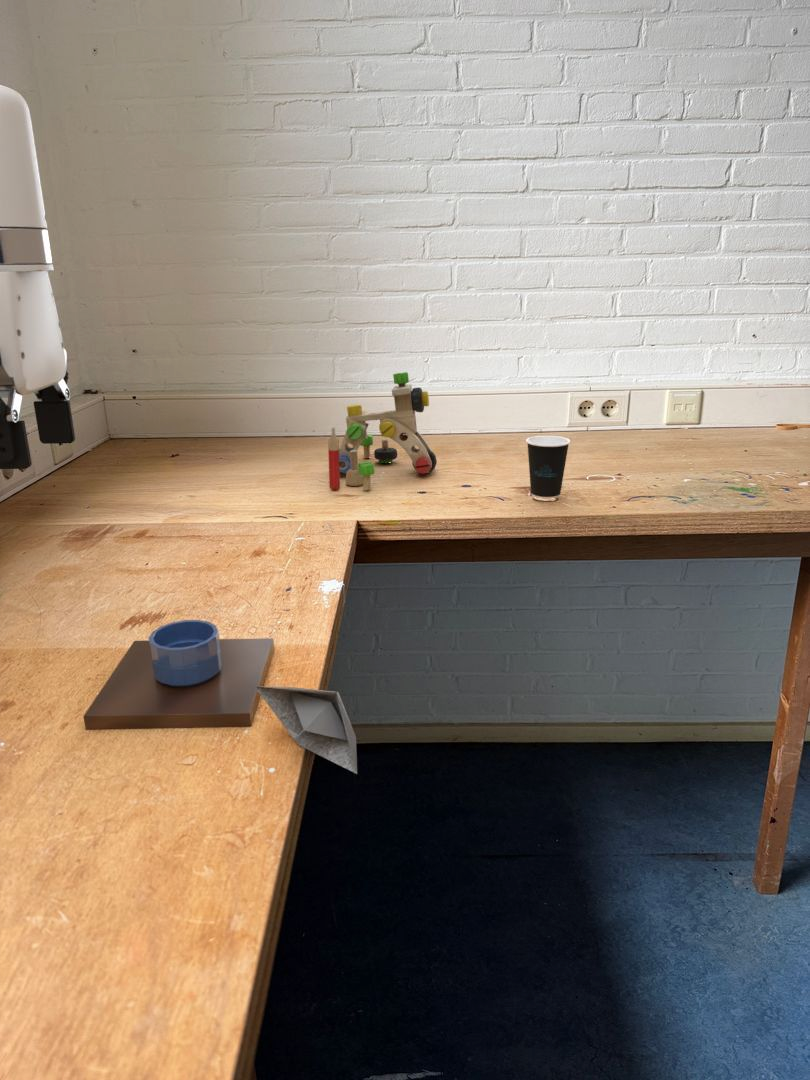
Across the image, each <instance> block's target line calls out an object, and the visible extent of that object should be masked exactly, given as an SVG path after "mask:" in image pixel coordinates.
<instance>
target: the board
mask: <svg viewBox="0 0 810 1080" xmlns="http://www.w3.org/2000/svg"><path fill="white" fill-rule="evenodd" d="M274 641H275V639H274V638H272V637H270V638H269V637H268V638H267V637H266V638H223V639H222V638H219V642H220V652H221V662H222V666H221V668H220V671H219V672H218V673H217V674H215V675H214V676H213V677H211V678H210V679H209V680H207V681H205V682H203V683H200V684H197V685H193V686H186V687H175V686H170V685H167V684H163V683H161V682H159V681H158V680H156V679H155V677H154V674H153V667H152V660H151V652H150V645H149V640H134V641H133V642H132V643H131V645H130V646H129V648H128V649H127V651H126V652H125V654H124V656H122V658H121V660H120V661H119V662H118V664H117V666H116V667H115V669H114V670H113V671H112V672H111V675H110V676H109V677H108V679H107V680H106V681H105V684H104V685H103V687H102V688H101V689H100V691H99V692H98V693H97V695H96V696H95V698H94V700H93V701H92V703H91V704H90V706H89V707H88V709H87V710H86V712H85V713H84V715H83V723H84V728H85V730H121V729H122V730H124V729H125V730H126V729H130V730H131V729H175V728H176V729H178V728H180V729H181V728H229V727H230V728H231V727H234V728H235V727H236V728H237V727H252V724H253V721H254V718H255V714H256V712H257V707H258V705H259V701H260V698H261V695H260V693H259V692H258V691H257V689H256V688H255V687H254V686H262V687H264V685H265V681H266V678H267V675H268V672H269V669H270V665H271V662H272V658H273V655H274V652H275V642H274Z"/></svg>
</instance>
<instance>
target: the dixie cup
mask: <svg viewBox="0 0 810 1080" xmlns="http://www.w3.org/2000/svg"><path fill="white" fill-rule="evenodd" d="M525 442H526V443H527V457H528V472H529V485H530V494H531V496H534V497H536V498H542V499H550V498H556V497H558V496H559V497H560V495H561V492H562V486H563V480H564V473H565V470H566V462H567V456H568V451H569V445H570V444H571V440H570V439H569V438H567V437H563V436H558V435H535V436H530V437H528V438H526V441H525Z"/></svg>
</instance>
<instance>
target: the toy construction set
mask: <svg viewBox="0 0 810 1080" xmlns="http://www.w3.org/2000/svg"><path fill="white" fill-rule="evenodd" d="M392 377H393V384H394V387H392V389H391V396H392V397H393V401H394V409H395V410H386V411H385V410H384V411H377V412H368V413H363V407H362V404H352V405H348V406H347V407H346V410H347V416H346V417H345V422H346V430H345V433H344V436H343V439H342V441H341V444H340V439H339V438H338V436H337V434H336V426H332V427H331V436H330V437H329V438H328V440H327V443H328V448H327V449H328V450H327V451H328V479H329V480H328V481H329V482H328V483H329V489H330V490H333V491H334V490H339V489H340V488H341V478H340V477H341V476H340V475H341V474H340V473H343V474H345V484H346V485H347V486H350V487H357V486H358V487H359V486H362V490H364V491H370V490H371V489H372V487H371V482H372V481H371V476H373V475H374V474H375V464H374V462H372V461H362V462H358V461H359V458H358V457H359V456H358V453H359V452H358V450H359V448H360V446H361V447H362V448H363V449H362V450H363V458H364V459H365V458H369V457H370V458H371V446H372V445H374V436H373V435H372V434H368V432H367V429H368V427H369V425H370V423H368V422H369V421H379V426H378V427H379V428H378V429H379V433H380V434H381V437H384V438H382V439H381V447H379V448H376V449H375V450H374V451H373V453H374V454H373V455H374V456H373V457H374V459H375V460H378V463H379V462H381V463H385V464H387V463H389V462H392V461H393V462H394V460H396V459H397V458H398V450H397V449H396V448H394V447H389V439H391V440H393V441H394V442H395V443H397V444H398V445H399V446H400V447H401V448H402V449H403V450H404V451H405V453H406V454H407V455H408V457H409V458H410V460H411V462H412V467H413V469H414V470H415V471H416V472H417V473H419V474H422V475H423V474H424V475H426V474H425V473H427V472H430V473H432V472H433V471H434V470H435V468H436V466H437V463H438V460H437V456H436V454H435V453H434V452H433V451H432V449H431V447H430V445H429V443H428V442H427V441H426V439H425V438H424V437H423V435H422V434H421V433H420V432H419V431H418V428H417V427H418V426H417V417H416V413H423V412H424V411H425V407H429V406H430V397H429V392H428V391H427V390H425V391H423V389H422V387H413V385H412V383H409V382H410V380H409V379H410V378H409V373H408V372H407V371H403V372H396V373H393V375H392ZM387 438H389V439H387ZM348 444H350V445H352V447H351V446H349V445H348ZM417 447H418V448H417ZM393 462H392V463H393ZM381 463H380V464H381ZM427 474H428V473H427Z"/></svg>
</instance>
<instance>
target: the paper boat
mask: <svg viewBox="0 0 810 1080" xmlns="http://www.w3.org/2000/svg"><path fill="white" fill-rule="evenodd" d="M254 687H255V688H256V689H257V691H258V692H259V693H260V697H261V698H262V699H263V700H264V701H265V703H266V704H267V705H268V707H269V708H270V710H271V711H272V712H273V714H274V715H275V716H276V718H277V719H278V720H279V721H280V723H281V724H282V726H283V727H284V729H285V730H286V732H287V733H288V734H289V735H290V737H291V738H292V740H294V742H295V743H296V745H298V746H299V747H301V748H304V749H305V750H308V751H310V752H311V753H314V754H316V755H317V756H320V757H322V758H324V759H326V760H328V761H329V762H332V763H333V764H336V765H338V766H340V767H342V768H344V769H346V770H348V771H350V772H352V773H354V774H356V775H358V756H357V754H358V753H357V737H356V734H355V731H354V729H353V726H352V723H351V721H350V718H349V716H348V713H347V711H346V707H345V705H344V702H343V700H342V698H341V695H340V693H339V691H334V690H333V691H331V690H322V689H314V688H313V689H312V688H305V687H294V686H263V687H262V686H254Z"/></svg>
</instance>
